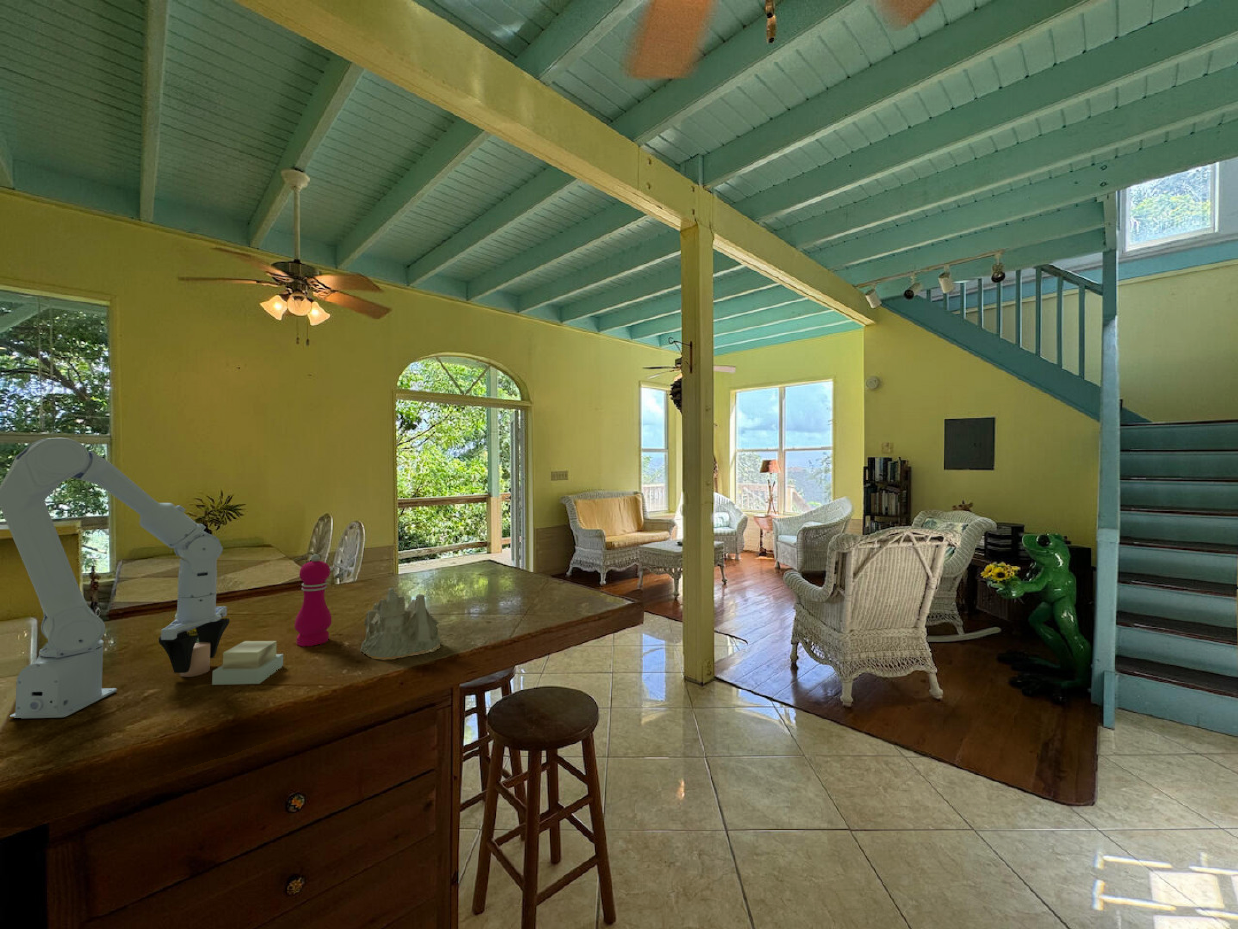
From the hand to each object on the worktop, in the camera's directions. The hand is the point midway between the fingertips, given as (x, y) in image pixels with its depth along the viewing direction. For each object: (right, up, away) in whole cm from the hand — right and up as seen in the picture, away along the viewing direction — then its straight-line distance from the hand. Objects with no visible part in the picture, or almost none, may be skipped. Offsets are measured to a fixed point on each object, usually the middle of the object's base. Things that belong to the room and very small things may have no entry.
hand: (195, 664), depth 96 cm
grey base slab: (+11, -2, -1) cm, 11 cm away
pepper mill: (+12, -2, +18) cm, 21 cm away
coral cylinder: (0, -2, 0) cm, 2 cm away
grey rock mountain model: (+33, -3, +16) cm, 37 cm away
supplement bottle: (-13, -1, +14) cm, 19 cm away
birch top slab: (+11, +1, -1) cm, 11 cm away
